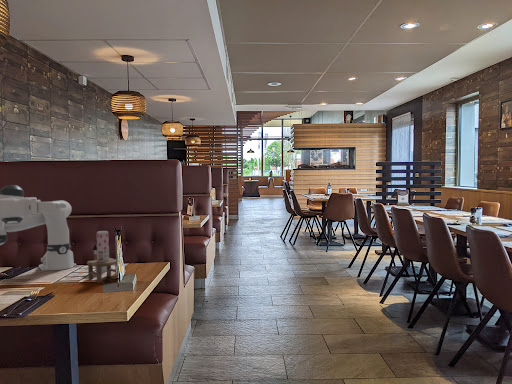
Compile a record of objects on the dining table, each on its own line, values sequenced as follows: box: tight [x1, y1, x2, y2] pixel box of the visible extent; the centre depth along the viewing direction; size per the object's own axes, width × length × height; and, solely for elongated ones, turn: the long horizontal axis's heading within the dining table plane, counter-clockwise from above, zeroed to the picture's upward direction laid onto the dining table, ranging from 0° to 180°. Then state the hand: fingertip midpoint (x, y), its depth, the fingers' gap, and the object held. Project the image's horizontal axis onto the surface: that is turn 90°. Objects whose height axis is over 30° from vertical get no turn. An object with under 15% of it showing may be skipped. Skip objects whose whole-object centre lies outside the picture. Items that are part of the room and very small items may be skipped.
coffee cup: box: [92, 243, 107, 273], centre depth 219 cm, size 8×8×15 cm
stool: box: [86, 257, 117, 284], centre depth 201 cm, size 12×12×9 cm
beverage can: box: [96, 230, 110, 262], centre depth 201 cm, size 6×6×15 cm
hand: (64, 205), depth 193 cm, fingers open, 8 cm apart
